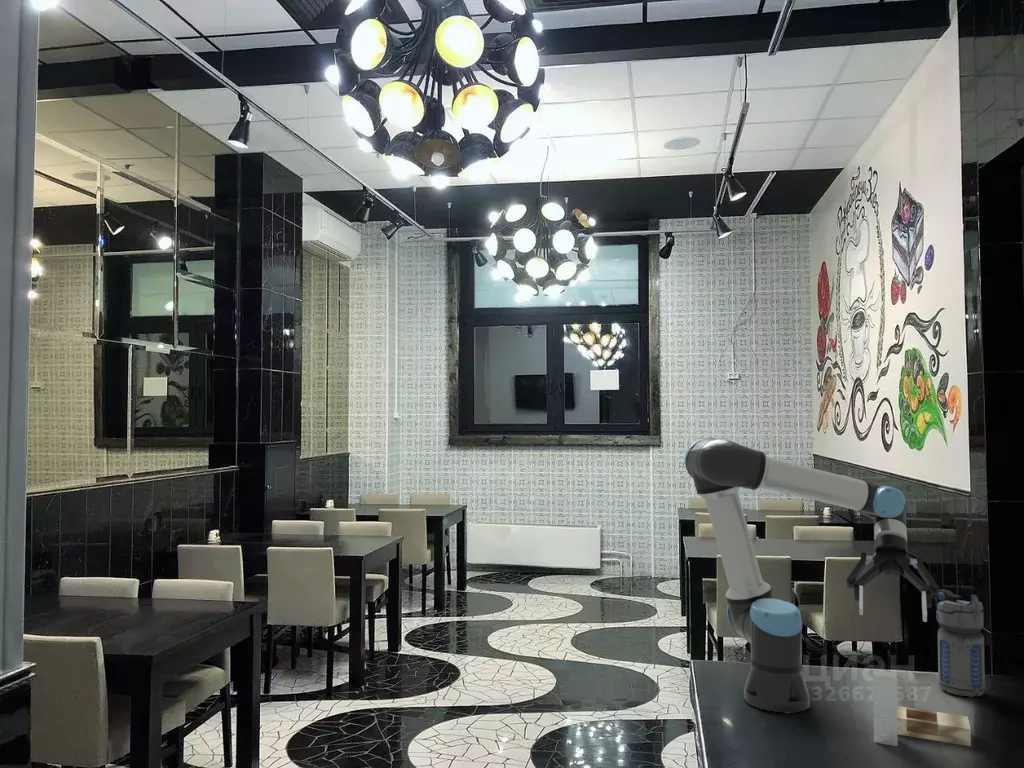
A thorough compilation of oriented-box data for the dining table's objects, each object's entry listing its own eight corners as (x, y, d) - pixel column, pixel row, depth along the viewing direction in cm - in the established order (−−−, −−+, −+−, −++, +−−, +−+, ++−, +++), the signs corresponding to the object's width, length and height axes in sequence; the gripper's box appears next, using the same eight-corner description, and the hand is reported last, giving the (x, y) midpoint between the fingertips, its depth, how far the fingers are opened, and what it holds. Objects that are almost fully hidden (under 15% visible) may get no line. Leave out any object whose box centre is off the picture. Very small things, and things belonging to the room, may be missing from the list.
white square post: (873, 742, 167) (873, 675, 167) (874, 735, 170) (873, 669, 171) (897, 746, 165) (896, 678, 165) (897, 739, 168) (896, 672, 169)
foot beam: (876, 730, 173) (875, 714, 173) (877, 718, 180) (876, 702, 180) (970, 746, 165) (970, 729, 165) (967, 732, 172) (967, 716, 172)
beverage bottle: (955, 680, 206) (953, 584, 207) (997, 698, 193) (995, 595, 195) (922, 683, 204) (920, 586, 205) (962, 701, 191) (960, 597, 192)
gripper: (945, 554, 197) (951, 630, 183) (838, 546, 208) (836, 617, 194) (947, 536, 193) (953, 612, 178) (837, 529, 203) (835, 600, 189)
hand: (892, 615), depth 186 cm, fingers open, 13 cm apart
